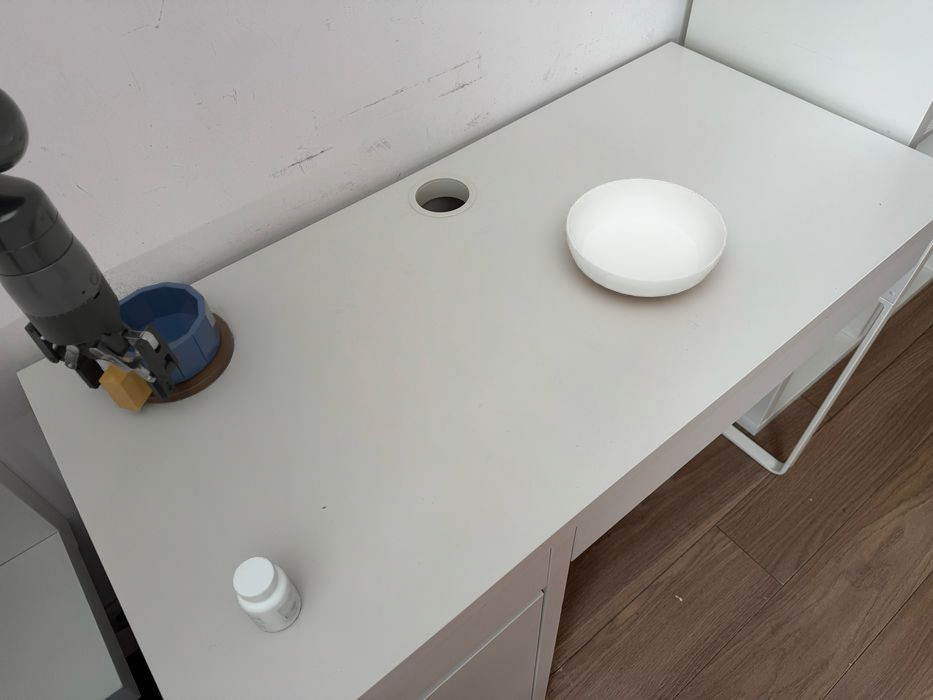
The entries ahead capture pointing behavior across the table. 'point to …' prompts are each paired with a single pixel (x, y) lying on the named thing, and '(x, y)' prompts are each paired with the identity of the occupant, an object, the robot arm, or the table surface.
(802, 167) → the table surface
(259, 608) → the pill bottle
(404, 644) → the table surface
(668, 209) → the bowl
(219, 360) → the turntable
